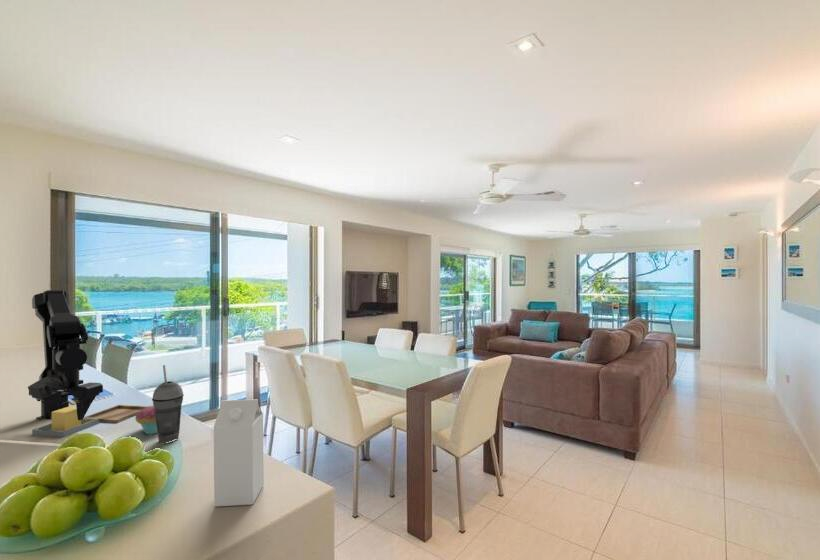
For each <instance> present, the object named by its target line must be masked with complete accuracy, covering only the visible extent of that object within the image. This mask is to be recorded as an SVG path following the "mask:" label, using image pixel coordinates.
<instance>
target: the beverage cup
mask: <svg viewBox="0 0 820 560" xmlns="http://www.w3.org/2000/svg"><path fill="white" fill-rule="evenodd" d="M162 369H163V379H164V382H162V383H161V384H159V385H158V386H157V387H155V389H154V390H153V394H152V398H151V401H152V404H153V405H152V406H154V408H155V416H156V424H157V433H156V434H157V437H158V443H159V444H161V445H163V444H162V443H166V442H169V441H172V440H174V439H178V440H179V436H180V428H181V415H182V406H183V405H182V403H183V402H184V391H183V388H182V386H181V385H180V384H179V383H177V382H175V381H170V380H169V381H168V377H167V370H166V365H164V364H163V365H162Z"/></svg>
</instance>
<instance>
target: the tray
mask: <svg viewBox="0 0 820 560" xmlns="http://www.w3.org/2000/svg"><path fill="white" fill-rule="evenodd" d="M150 406H151V405H148V406H147V405H132V404H131V405H129V404H127V405H125V404H117V405H115V406H113V407H108V408H106V409H103V410H101V411H97V412H95V413H92V414H90V415H87V416H86V415H85V416H84V418H97V419H99V423H114V424H115V423H116V424H118V423H122V422H124V421H126V420H128V419H130V418H133V417H136V415H137V414H138V413H139V412H140V411H141V410H142V409H144V408H146V407H150Z"/></svg>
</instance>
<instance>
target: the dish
mask: <svg viewBox="0 0 820 560" xmlns="http://www.w3.org/2000/svg"><path fill="white" fill-rule="evenodd" d="M99 424H100V422H99V419H97V418H83V419H82V420H81V425H79V426H76V427H73V428H71V429H68V430H65V431H57V430H52V422H51V423H49V424H48V423H47V424H45V425H43V426H42V425H41V426H39V427H36V428H34V429H32V431H31V436H41V437H51V438H52V437H53V438H65V437H68V436H71V435H73V434H75V433H78V432H81V431H83V430H86V429H89V428H91V427H94V426H96V425H99Z"/></svg>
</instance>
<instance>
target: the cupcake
mask: <svg viewBox="0 0 820 560" xmlns="http://www.w3.org/2000/svg"><path fill="white" fill-rule="evenodd" d="M149 406H150V407H146V408H144V409H142V410H141V411H140V412H139V413H138V414H137V415H136V416H134V417H135V421H136V423H138V424H140V425H141V427H142V430H143V432H144V434H145V435H155V434H158V433H157V424H156V416H155V408H154V405H149Z"/></svg>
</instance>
